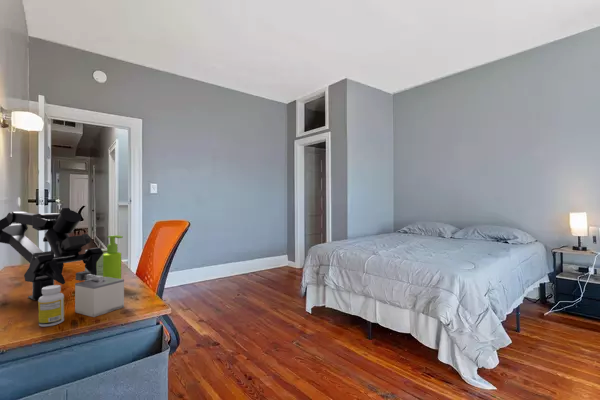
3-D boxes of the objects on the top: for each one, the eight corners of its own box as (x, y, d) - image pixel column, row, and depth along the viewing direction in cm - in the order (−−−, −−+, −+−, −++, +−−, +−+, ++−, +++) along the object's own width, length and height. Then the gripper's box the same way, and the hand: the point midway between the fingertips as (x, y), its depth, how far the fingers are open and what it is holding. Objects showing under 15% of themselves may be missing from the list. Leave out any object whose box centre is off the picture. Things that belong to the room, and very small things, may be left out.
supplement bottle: (48, 319, 84) (48, 284, 84) (69, 319, 85) (69, 283, 85) (32, 327, 79) (33, 290, 79) (55, 326, 79) (55, 289, 79)
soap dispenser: (115, 290, 111) (115, 236, 112) (99, 289, 113) (99, 236, 113) (127, 286, 117) (127, 234, 117) (111, 285, 119) (112, 234, 119)
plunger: (75, 298, 95) (75, 272, 95) (85, 295, 97) (85, 271, 97) (96, 303, 90) (96, 276, 90) (106, 300, 93) (106, 274, 93)
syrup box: (83, 287, 116) (84, 249, 116) (99, 283, 121) (99, 247, 121) (93, 289, 113) (94, 250, 114) (109, 285, 119) (109, 248, 119)
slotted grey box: (75, 312, 90) (75, 283, 90) (105, 303, 98) (105, 276, 98) (93, 317, 86) (94, 286, 86) (123, 307, 94) (124, 279, 94)
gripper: (36, 228, 90) (57, 269, 85) (100, 224, 107) (120, 258, 102) (22, 253, 93) (41, 293, 89) (86, 245, 110) (105, 279, 106)
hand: (80, 279), depth 96 cm, fingers open, 9 cm apart
